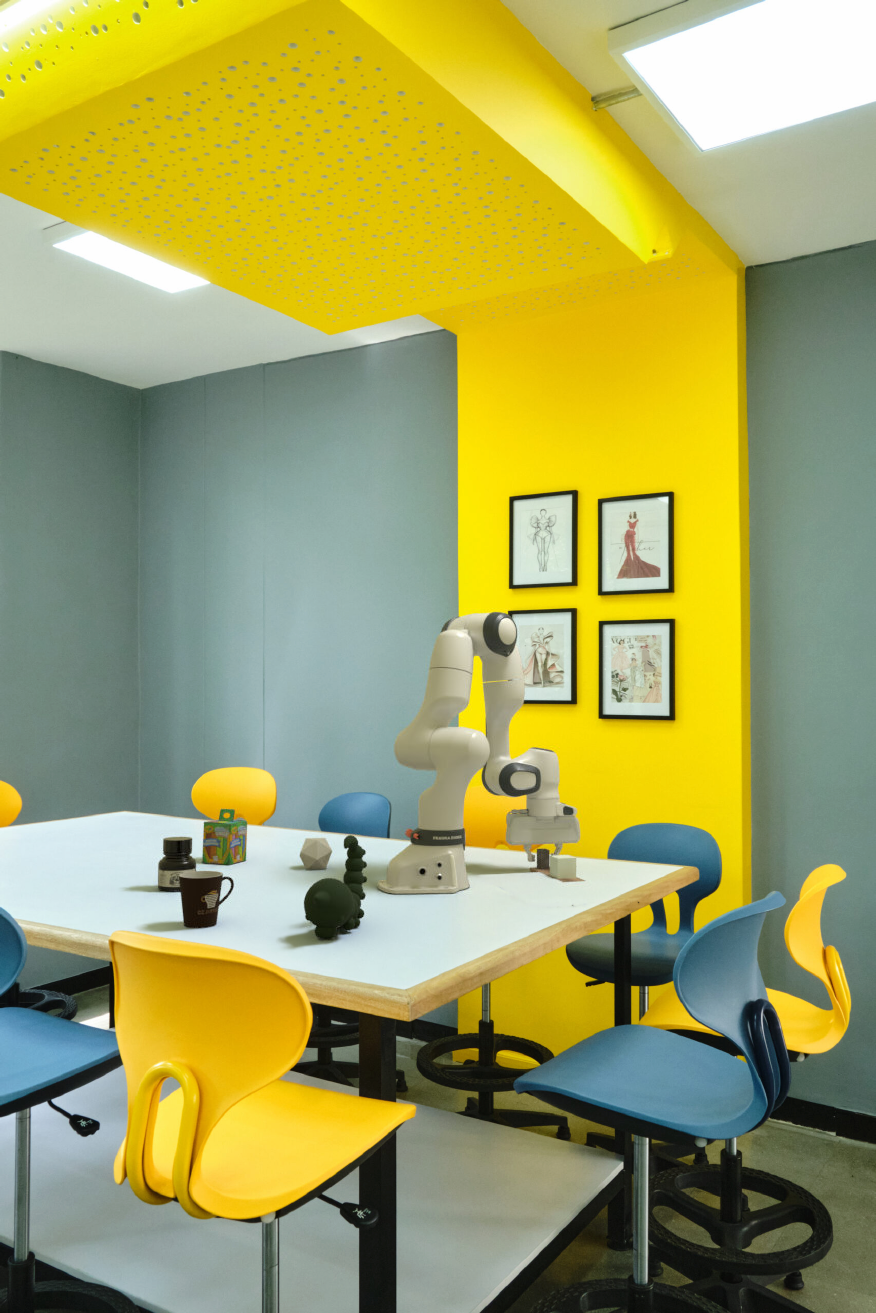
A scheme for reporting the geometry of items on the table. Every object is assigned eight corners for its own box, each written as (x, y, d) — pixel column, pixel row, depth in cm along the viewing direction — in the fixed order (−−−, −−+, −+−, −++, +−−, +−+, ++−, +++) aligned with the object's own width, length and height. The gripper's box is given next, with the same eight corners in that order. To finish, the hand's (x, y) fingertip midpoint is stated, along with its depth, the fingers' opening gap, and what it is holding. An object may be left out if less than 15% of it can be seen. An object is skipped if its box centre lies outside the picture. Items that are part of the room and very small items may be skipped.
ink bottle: (154, 892, 228) (155, 841, 229) (157, 886, 237) (158, 836, 238) (197, 891, 230) (197, 840, 231) (198, 884, 239) (199, 835, 240)
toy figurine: (333, 925, 202) (288, 942, 178) (337, 833, 205) (293, 838, 181) (377, 928, 200) (337, 946, 176) (380, 835, 203) (341, 839, 179)
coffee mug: (181, 931, 190) (182, 879, 190) (175, 922, 197) (175, 872, 198) (241, 925, 194) (241, 875, 195) (232, 917, 202) (233, 868, 203)
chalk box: (201, 863, 271) (202, 810, 272) (219, 858, 280) (220, 807, 281) (230, 865, 268) (230, 811, 269) (247, 860, 277) (248, 808, 278)
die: (321, 874, 258) (340, 842, 263) (292, 857, 259) (312, 825, 263) (319, 880, 266) (337, 849, 270) (291, 864, 266) (310, 833, 271)
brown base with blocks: (563, 886, 238) (563, 861, 239) (529, 871, 259) (529, 848, 260) (585, 884, 240) (585, 860, 240) (550, 870, 261) (550, 847, 261)
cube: (557, 878, 243) (557, 858, 243) (549, 875, 248) (549, 855, 248) (576, 877, 244) (576, 857, 245) (568, 874, 249) (567, 854, 249)
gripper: (510, 810, 253) (510, 864, 253) (582, 808, 259) (582, 861, 258) (502, 808, 259) (502, 860, 259) (572, 806, 265) (572, 857, 264)
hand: (543, 860), depth 259 cm, fingers open, 5 cm apart
